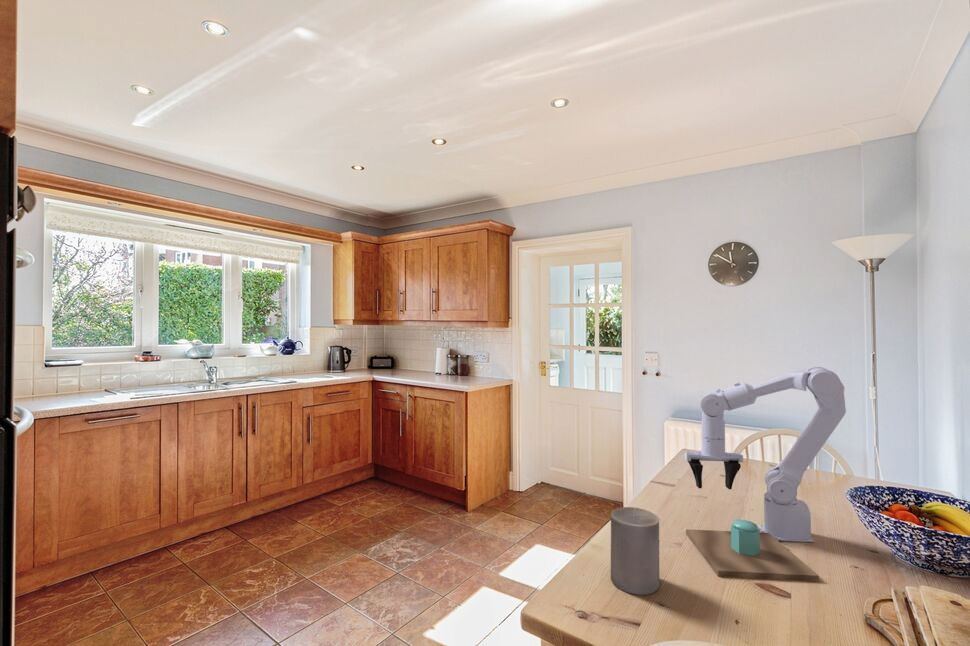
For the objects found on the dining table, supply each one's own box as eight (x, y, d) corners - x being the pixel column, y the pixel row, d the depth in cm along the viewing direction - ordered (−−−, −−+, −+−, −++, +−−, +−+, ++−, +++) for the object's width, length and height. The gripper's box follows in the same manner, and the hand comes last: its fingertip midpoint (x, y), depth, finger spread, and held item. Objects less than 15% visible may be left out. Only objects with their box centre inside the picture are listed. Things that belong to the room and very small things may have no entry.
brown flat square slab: (768, 537, 113) (768, 532, 113) (819, 581, 93) (818, 575, 93) (685, 534, 115) (685, 529, 115) (718, 576, 95) (718, 570, 95)
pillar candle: (605, 569, 98) (605, 500, 99) (650, 570, 98) (650, 500, 98) (617, 595, 89) (617, 518, 89) (667, 596, 88) (666, 519, 89)
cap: (747, 543, 107) (747, 518, 108) (764, 555, 102) (763, 529, 102) (727, 544, 107) (727, 519, 107) (743, 556, 101) (742, 529, 101)
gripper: (734, 434, 126) (735, 483, 126) (680, 433, 127) (681, 481, 127) (746, 440, 119) (747, 492, 119) (689, 439, 120) (689, 490, 120)
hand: (713, 487), depth 122 cm, fingers open, 7 cm apart
